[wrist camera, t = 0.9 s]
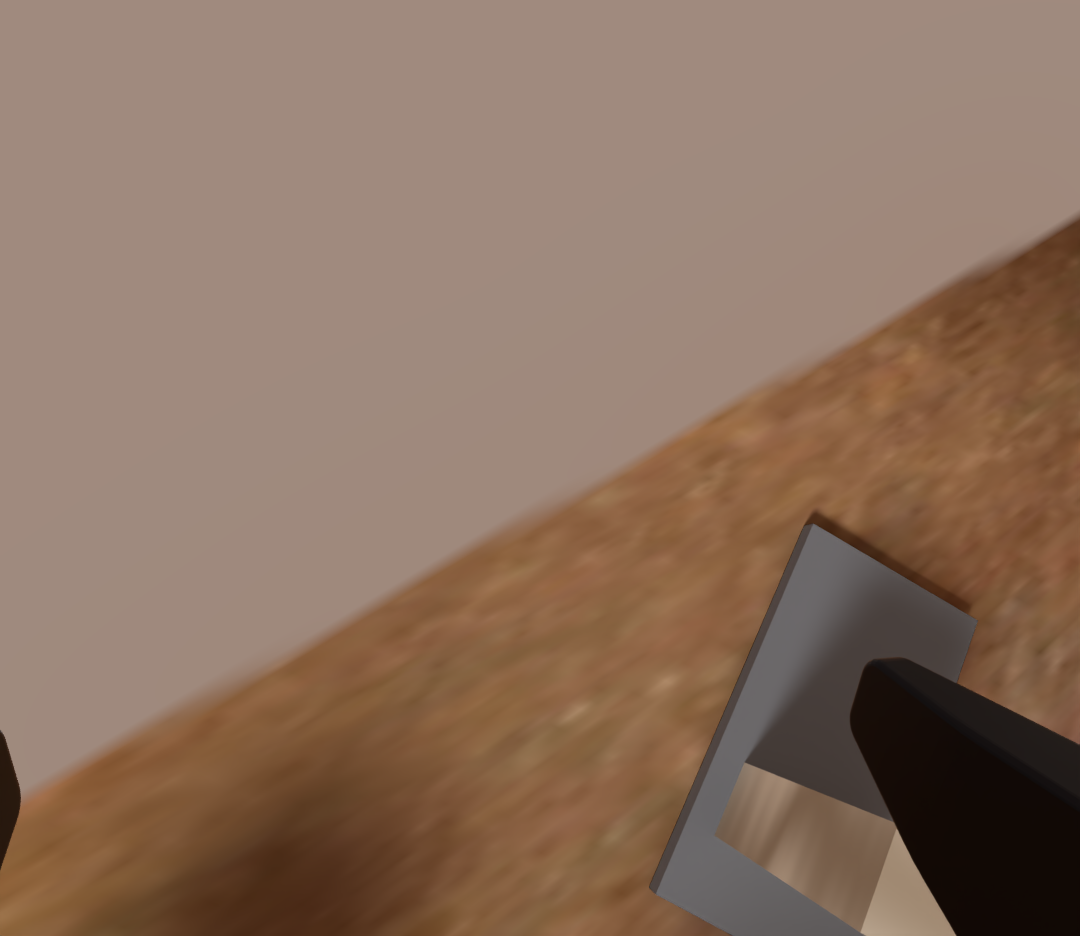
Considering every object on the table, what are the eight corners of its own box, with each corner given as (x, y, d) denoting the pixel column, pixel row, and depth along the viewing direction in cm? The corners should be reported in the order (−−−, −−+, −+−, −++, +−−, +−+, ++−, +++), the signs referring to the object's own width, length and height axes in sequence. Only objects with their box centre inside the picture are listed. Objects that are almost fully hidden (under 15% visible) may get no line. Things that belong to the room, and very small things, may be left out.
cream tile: (847, 908, 23) (1050, 1036, 16) (714, 835, 23) (860, 933, 16) (875, 831, 24) (1081, 921, 17) (745, 759, 24) (900, 819, 17)
